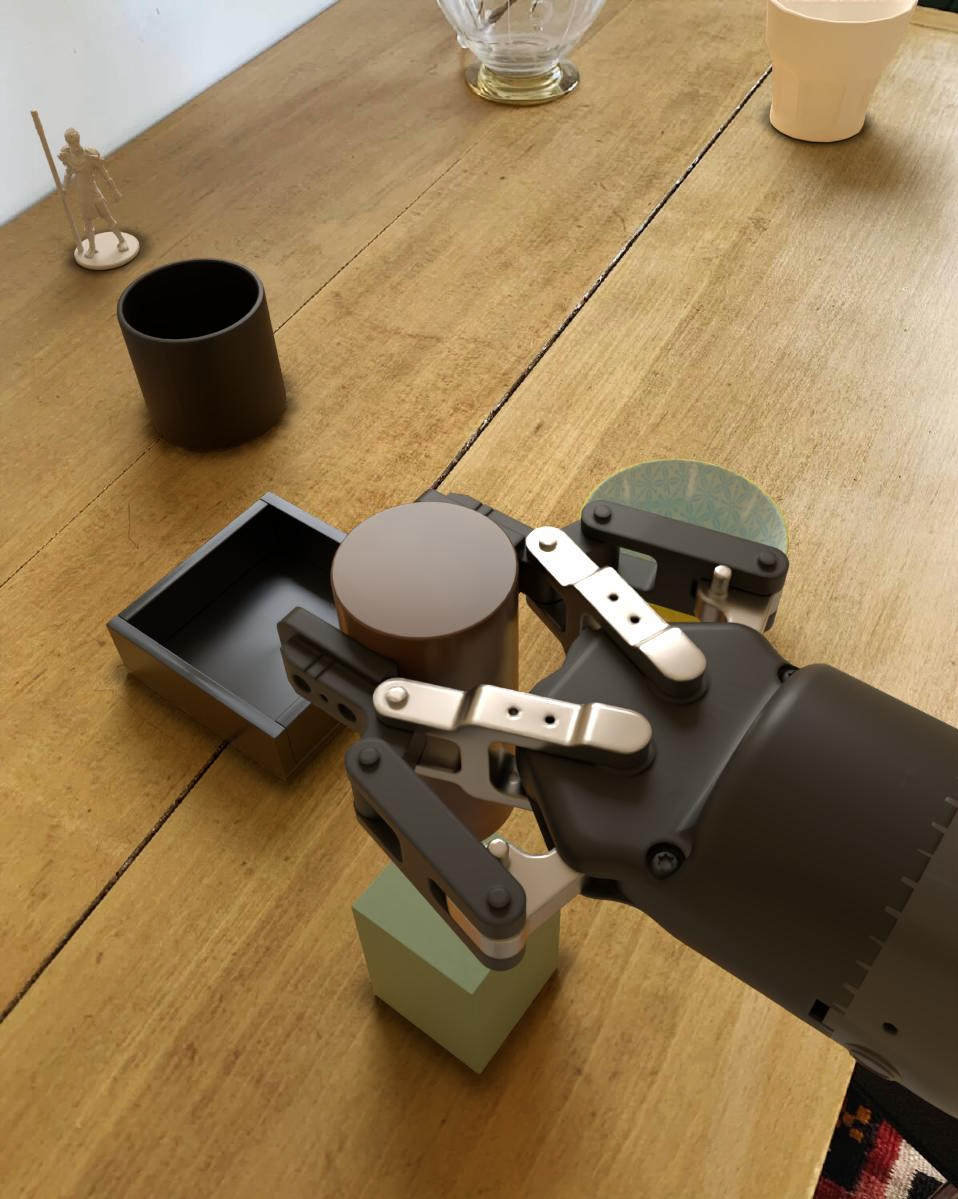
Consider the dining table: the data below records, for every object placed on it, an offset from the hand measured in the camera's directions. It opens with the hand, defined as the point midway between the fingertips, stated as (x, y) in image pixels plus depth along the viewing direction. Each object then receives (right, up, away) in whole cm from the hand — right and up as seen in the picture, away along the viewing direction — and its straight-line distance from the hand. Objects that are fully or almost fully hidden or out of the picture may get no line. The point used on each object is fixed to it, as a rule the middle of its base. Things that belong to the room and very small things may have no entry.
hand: (358, 574), depth 32 cm
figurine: (-27, +28, +60) cm, 71 cm away
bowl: (+15, -1, +33) cm, 36 cm away
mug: (-16, +13, +46) cm, 51 cm away
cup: (+34, +43, +70) cm, 89 cm away
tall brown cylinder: (+2, -7, +6) cm, 9 cm away
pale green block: (+3, -18, +19) cm, 26 cm away
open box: (-8, -4, +31) cm, 33 cm away
